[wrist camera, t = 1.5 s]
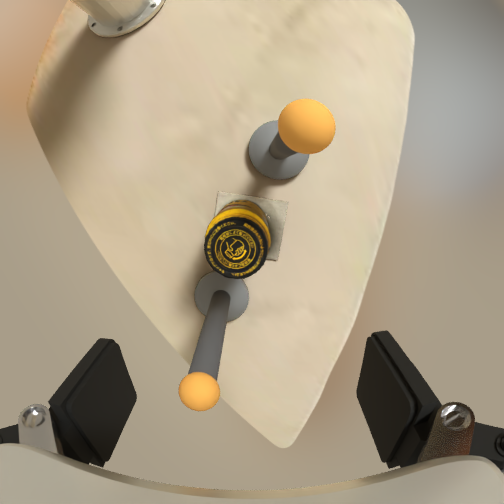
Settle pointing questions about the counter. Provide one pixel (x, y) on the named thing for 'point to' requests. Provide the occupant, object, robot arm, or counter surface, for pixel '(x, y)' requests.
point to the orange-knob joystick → (212, 337)
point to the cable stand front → (291, 139)
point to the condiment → (244, 234)
